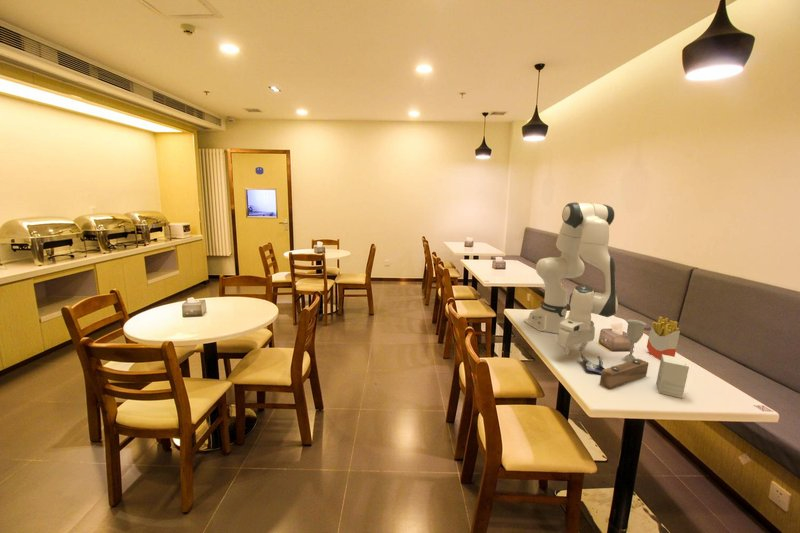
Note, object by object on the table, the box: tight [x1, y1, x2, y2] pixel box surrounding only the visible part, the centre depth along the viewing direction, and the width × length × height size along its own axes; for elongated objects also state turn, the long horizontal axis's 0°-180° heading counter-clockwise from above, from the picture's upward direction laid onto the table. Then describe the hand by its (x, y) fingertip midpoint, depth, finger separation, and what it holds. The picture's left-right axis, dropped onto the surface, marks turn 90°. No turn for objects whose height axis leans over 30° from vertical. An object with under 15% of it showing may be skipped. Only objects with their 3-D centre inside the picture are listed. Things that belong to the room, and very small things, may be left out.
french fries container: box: [646, 316, 681, 361], centre depth 160 cm, size 5×11×18 cm, turn 5°
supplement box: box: [655, 354, 690, 399], centre depth 131 cm, size 7×7×13 cm
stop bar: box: [599, 358, 650, 390], centre depth 138 cm, size 4×24×7 cm, turn 118°
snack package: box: [580, 353, 606, 376], centre depth 147 cm, size 12×6×12 cm
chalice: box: [622, 319, 647, 363], centre depth 154 cm, size 7×7×18 cm
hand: (574, 352), depth 157 cm, fingers open, 8 cm apart
